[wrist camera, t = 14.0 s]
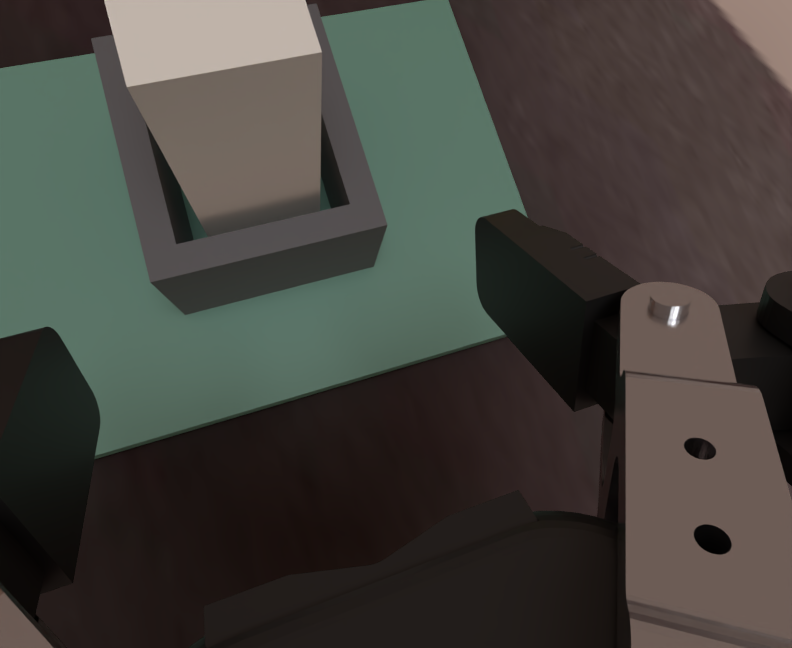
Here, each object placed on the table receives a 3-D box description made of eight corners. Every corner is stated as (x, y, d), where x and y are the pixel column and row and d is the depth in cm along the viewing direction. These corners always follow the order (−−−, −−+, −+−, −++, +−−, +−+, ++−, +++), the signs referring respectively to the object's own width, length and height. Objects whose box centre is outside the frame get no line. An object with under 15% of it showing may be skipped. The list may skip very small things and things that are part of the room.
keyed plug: (319, 237, 22) (321, 51, 12) (221, 262, 21) (127, 87, 11) (286, 129, 23) (260, -138, 12) (190, 148, 22) (73, -119, 12)
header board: (549, 324, 24) (621, 288, 19) (24, 480, 20) (-95, 497, 14) (439, 20, 27) (473, -94, 21) (-48, 103, 23) (-174, -13, 17)
